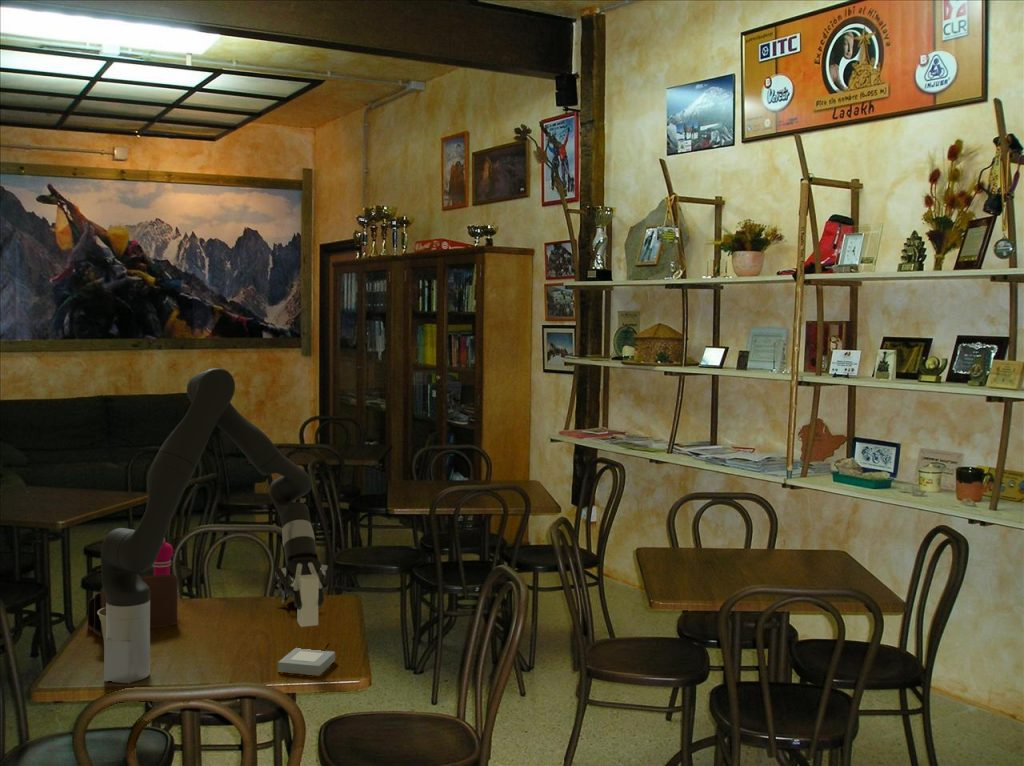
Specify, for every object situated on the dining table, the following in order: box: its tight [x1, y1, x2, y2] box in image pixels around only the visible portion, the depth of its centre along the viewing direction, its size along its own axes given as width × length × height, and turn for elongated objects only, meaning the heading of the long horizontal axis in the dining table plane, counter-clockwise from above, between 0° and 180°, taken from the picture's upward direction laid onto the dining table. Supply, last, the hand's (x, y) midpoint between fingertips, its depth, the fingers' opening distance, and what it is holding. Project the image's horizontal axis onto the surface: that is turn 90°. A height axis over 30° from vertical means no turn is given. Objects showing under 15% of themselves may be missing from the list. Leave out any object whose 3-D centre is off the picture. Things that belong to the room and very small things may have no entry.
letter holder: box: [87, 574, 179, 638], centre depth 261 cm, size 10×20×14 cm, turn 132°
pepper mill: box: [151, 537, 174, 575], centre depth 277 cm, size 7×7×20 cm
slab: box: [277, 647, 336, 675], centre depth 235 cm, size 10×10×3 cm
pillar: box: [296, 574, 320, 628], centre depth 234 cm, size 4×4×11 cm
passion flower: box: [274, 576, 294, 606], centre depth 283 cm, size 11×11×12 cm
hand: (309, 606), depth 233 cm, fingers closed on pillar, 4 cm apart
